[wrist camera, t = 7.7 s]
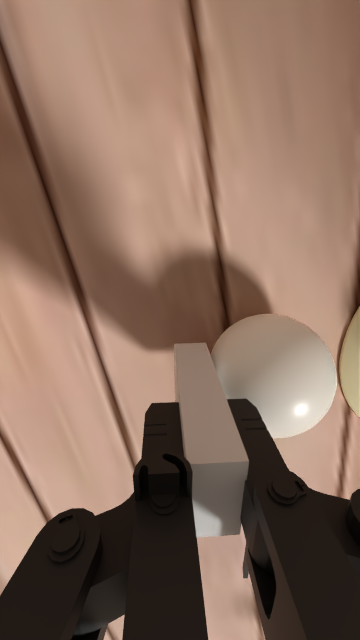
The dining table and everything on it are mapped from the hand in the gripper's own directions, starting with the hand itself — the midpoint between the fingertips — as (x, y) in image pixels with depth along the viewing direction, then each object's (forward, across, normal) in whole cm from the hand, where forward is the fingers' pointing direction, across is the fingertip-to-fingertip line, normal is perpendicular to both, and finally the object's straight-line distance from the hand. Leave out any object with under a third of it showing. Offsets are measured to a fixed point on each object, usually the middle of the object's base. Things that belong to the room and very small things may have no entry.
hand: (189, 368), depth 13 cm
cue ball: (-1, -4, 0) cm, 4 cm away
